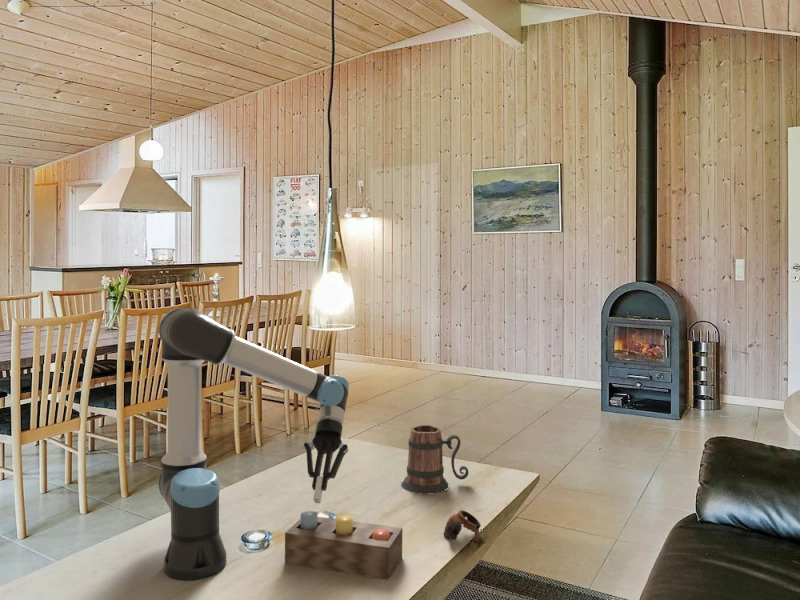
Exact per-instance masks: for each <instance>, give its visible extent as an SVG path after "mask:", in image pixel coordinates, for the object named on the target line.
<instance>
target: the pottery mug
mask: <svg viewBox="0 0 800 600" xmlns="http://www.w3.org/2000/svg"><path fill="white" fill-rule="evenodd" d="M462 525H463V526H462ZM462 528H465V529H467V530H468V531H471V532H473V533H474V536H473V539H472V540H473V542H477V539H478V537H480V528H481V523H480V521H479V520H478V519H477V518H476V517H475V516H474V515H472V514H471V513H470V512H469V511H466V510H461V509H460V510H459V511H458V512H457V513H455V514H454V513H453V515H451V516H450V517H449V518H448V520H447V522H446V525H445V527H444V531H443V537H444V538H445V540H446V539H448V540H449V539H450V540H452V541H456V540H457V538H458V535H459V533H460V532H461V530H462Z"/></svg>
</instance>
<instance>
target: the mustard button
mask: <svg viewBox="0 0 800 600" xmlns="http://www.w3.org/2000/svg"><path fill="white" fill-rule="evenodd" d="M335 519H336V534H341V535H348V536H351V534H352V533H353V521H354V517H352V516H350V515H341V516H337V517H336V518H335Z"/></svg>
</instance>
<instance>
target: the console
mask: <svg viewBox="0 0 800 600" xmlns="http://www.w3.org/2000/svg"><path fill="white" fill-rule="evenodd" d="M378 529H384V530H388V531H389V532H390V539H389V540H388V541H383V540H376V539H372V532H373V531H375V530H378ZM402 558H403V527H399V526H392V525H391V526H390V525H383V524H375V523H368V522H363V521H361V522H360V521H354V520H353V533H352V534H351V536H348V535H341V534H336V518H330V517H323V516H322V517H321V516H317V528H316V529H315V530H314V531H312V530H305V529H301V518H299V519H298V521H296V522H295V523H294V524H293V525H292V526H291V527H289V528H288V530H286V531H285V532H284V564H288V563H289V565H293V566H294V565H296V566H301V567H308V568H314V569H320V570H327V571H331V572H340V573H346V574H351V575H359V576H365V577H370V578H376V579H383V580H390V578H391V577H392V575H393V573H394V571H395V570H396V569H397V567H398V565H399V564H400V562H401V560H402Z"/></svg>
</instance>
